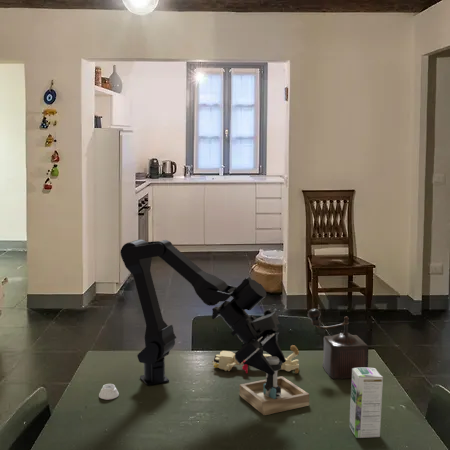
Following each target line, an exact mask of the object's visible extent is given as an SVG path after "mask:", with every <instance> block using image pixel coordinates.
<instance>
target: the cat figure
mask: <svg viewBox="0 0 450 450" xmlns="http://www.w3.org/2000/svg"><path fill="white" fill-rule="evenodd" d="M290 351H291V352H293V353H291V354H289V355H288V356H287V357H285V359H286V361H285V362H284V363H282V365H281V369H280V370H282V371H283V370H284V371H285V372H291V371H292V370H294V374H299V371H300V364H299V359H294V358H297V357H298V355H299V352H300V351H299V349H298V347H297V346H296V345H293V344H292V345H290ZM263 355H264V357H267V356H271V355H270V354H268V353H263ZM245 361H246V359H245V360H244V361H243V362H242V363H241V364H239V363H238V361H237V360H236V359H235V352H233V351H230V350H221V351H220V353H219V354H215V355H214V358H213V360H212V361H211V365H213V367H214V368H217V369H220V370H224V371H225V372H227V371H228V372H230V371H231V370H233V367H235V366H241V365H242V370H243V371H245V374H248V371H249V369H248V368H249V365H246V364H245V365H244V364H243V363H244V362H245Z"/></svg>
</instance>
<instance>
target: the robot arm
mask: <svg viewBox="0 0 450 450" xmlns="http://www.w3.org/2000/svg"><path fill="white" fill-rule="evenodd" d="M120 257H121V259H122V262H123V264H124V266H125V268H126V269H127V270H128V271H129V273H130V274H131V275H132V277H133V282H134V284H135V285H134V286H135V289H136V292H137V297H138V300H139V305H140V307H141V311H142V315H143V318H144V323H145V331H144V337H143V338H144V348H142V350H141V351H140V352H139V353H138V354H137V359H138V362H139V363H140V364H141V363H142V364H143V375H140V376H139V378H140V380H141V381H143V383H144V384H145V385H146V386H152V385H157V384H163V383H168V382H170V379H169V378H168V377H167V376H166V374H165V373H166V372H165V370H166V368H165V364H166V363H165V357H166V356H168V355H169V354H170V352H171V351H172V349H173V348H174V347H175V345H176V340H175V339H177V336H176V335H175V333H174V332H175V331H174V326H173V324H169V325H168V324H167V323H166V322H165V321H164V318H163V315H162V310H161V307H160V304H159V303H160V302H159V299H158V295H157V291H156V288H155V284H154V282H153V281H154V280H153V276H152V273H151V266H152V260H153V259H152V258H155V257H158V258H160V259H161V260H162V261H163V262H165V263H166V264H167V265H168V266H169V267H170V268H172V269H173V270H174V271H175V272H176V273H177V274H179V275H180V276H181V277H182V278H183V279H185V280H186V281H187V282H188V283H189V284H190V286H191V287H192V288H193V290H194V293H195V294H196V295H197V297H198V298H199V299H200V300H201V301H202V302H203V303H204V304H205V305H206V306H211V307H212V306H215V307H213V308H211V309H212V315H211V319H212V320H215V319H216V318H218V317H221V318H222V320H223V321H224V322H225V324H227V326H228V327H229V328H230V329H231V333H230V334H231V335H232V336H233V337H234V336H237V338H238V339H239V340H240V341H241V342H242V344H241V347H240V348H239V349H238V350H237V351H236V352H234V354H235V359H236V360H237V361H238V363H239V364H241V363H242V362H243V361H244V360H245V359H246V361H245V362H244V363H243V364H244V365H245V364H246V365H248V367H249V366H250V367H252V368H254V369H257V370H259V371H261V372H264V373H265V374H266V373H267V374H269V375H271V376H272V375H274V374H275V372H274V370H273V368H272V367H271V365H270V364H269V363H268V361H267V360H266V358H265V357H264V355H263V354H264V352H266V354H270V355H271V356H276V357H278V358H279V360H281V361H282V363H284V362H285V361H286V359H285V358H286V357H285V355H284V353H283V351H282V349H281V345H280V344H279V342H278V340H279V339H278V338H279V336H278V335H279V333H280V332H279V331H278V330H279V327H278V325H280V321H279V314H278V313H277V312H276V311H275V310H274V309H272V308H269V309H265V310H264V311H263V312H264V313H263V315H262V316H260V317H258V318H257V317H256V316H255V315H253V314H251V315H249V314H248V313H247V311H252V310H253V309H254V308H255V307H256V306H257V305H258V304H259V303H260V302H262V301H263V299H265V298H266V297H267V291H266V289H265V287H264V286H263V284H261V283H259V282H258V281H256V280H254V279H252V278H251V277H250V276H247V277H245V278H244V279H243V280H242V282H241V283H240V284H238V286H234V285H231V284H227V283H226V282H225V281H224V280H222V279H221V278H219V277H218V276H216V275H214V274H212V273H208V272H206V271H204V270H203V269H201V268H200V267H199V266H198V265H197V264H196V263H194V262H193V261H192V260H191V259H190V258H189V257H188V256H186V255H185V254H184V253H182V252H181V251H180V249H178V248H177V247H175V245H173V243H172V242H171V241H170V240H167V239H162V240H155V241H153V240H152V241H146V240H145V239H137V240H133V241H130V242H126V243H124V244H123V246H122V247H121V249H120ZM230 298H232V299H231V300H230V301H228V300H229V299H230ZM219 303H221V304H220V305H219V306H216V305H217V304H219ZM246 310H247V311H246ZM243 364H241V365H243ZM244 365H243V366H244Z"/></svg>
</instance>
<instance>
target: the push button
mask: <svg viewBox="0 0 450 450" xmlns="http://www.w3.org/2000/svg"><path fill="white" fill-rule="evenodd" d="M265 358H266V360H267V361H268V363H269V364H270V365H271V367H272V368H273V370H274V372H275V374H274V375H272V376H271V375H269V374H267V373H265V379H266V383H265V384H263V393H264V394H266V396H267V397H268V396H269V397H271V398H273V399H276V398H281V397H280V396H282V394H281V388H280V387H279V386H278V382H277V377H278V371H280V370H281V365H282V361H281V360H279V358H278V357H276V356H267V357H265Z"/></svg>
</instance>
